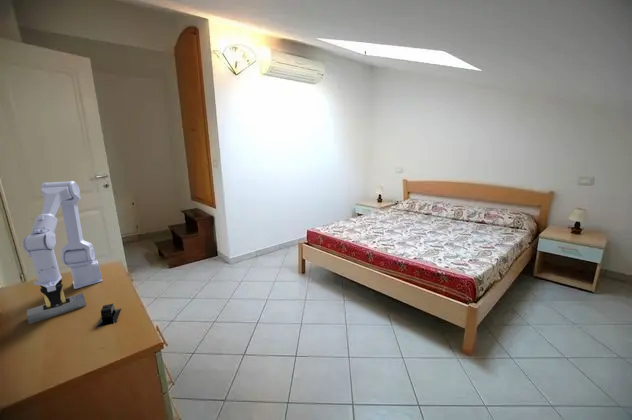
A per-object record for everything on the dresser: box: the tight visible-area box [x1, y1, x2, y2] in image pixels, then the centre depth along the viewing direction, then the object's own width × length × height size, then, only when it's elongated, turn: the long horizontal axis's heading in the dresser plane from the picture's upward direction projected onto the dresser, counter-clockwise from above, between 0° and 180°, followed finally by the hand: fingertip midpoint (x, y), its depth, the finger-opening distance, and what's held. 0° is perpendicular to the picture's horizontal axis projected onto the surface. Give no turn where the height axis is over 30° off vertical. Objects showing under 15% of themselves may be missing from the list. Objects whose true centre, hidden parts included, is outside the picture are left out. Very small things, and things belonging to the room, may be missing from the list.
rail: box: [26, 292, 87, 325], centre depth 100 cm, size 15×5×3 cm, turn 134°
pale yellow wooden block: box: [42, 287, 66, 309], centre depth 99 cm, size 5×2×6 cm, turn 134°
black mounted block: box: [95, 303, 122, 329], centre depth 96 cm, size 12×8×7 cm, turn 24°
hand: (56, 302), depth 99 cm, fingers closed on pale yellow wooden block, 2 cm apart
